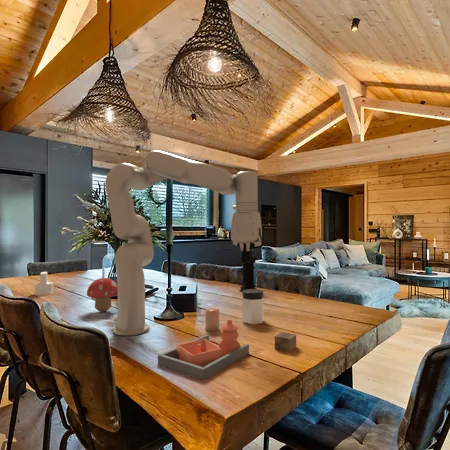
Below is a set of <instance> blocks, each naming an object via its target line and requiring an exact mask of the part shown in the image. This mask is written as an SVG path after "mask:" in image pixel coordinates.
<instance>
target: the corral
mask: <svg viewBox="0 0 450 450" xmlns="http://www.w3.org/2000/svg"><path fill="white" fill-rule="evenodd" d="M202 339H206V340H208V341H210V334H204V335H203V336H200V337H198V338H195V339H193V340H192V339H191V341H189V342H193V341H197V340H202ZM240 346H241V347H239V348H237V349H236V350H234V351H232V352H230V353H228V354H226V355H225V356H222V357H221V358H219V359H217V360H215V361H213V362H212V363H210V364H208V365H206V366H204V367H201V366H197V365H194V364H191V363H188V362H185V361H182V360H178V359H177V346H176V347H174V348H171V349H169V350H166V351H164V352H162V353H159V354H157V365H159V366H161V367H165V368H168V369H171V370H173V371H176V372H180V373H181V374H186V375H188V376H191V377H194V378H197V379H199V380H202V381H203V380H206V379H208V378H209V377H211V376H213V375H214V374H216V373H218V372H220V371H221V370H223V369H225V368H227V367H228V366H230V365H231V364H233V363H235V362H236V361H238V360H240V359H242V358H243V357H245V356H247V355H249V354H250V344H249V343H245V344H243V345H240Z"/></svg>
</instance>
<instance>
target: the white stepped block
mask: <svg viewBox="0 0 450 450" xmlns="http://www.w3.org/2000/svg"><path fill="white" fill-rule="evenodd" d="M39 279H40V280H39V282H36V283H34V295H35V296H49V295H53V294H54V288H53V287H54V282H52V281H48V271H41V272H40V273H39Z"/></svg>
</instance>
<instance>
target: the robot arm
mask: <svg viewBox="0 0 450 450" xmlns="http://www.w3.org/2000/svg"><path fill="white" fill-rule="evenodd" d="M166 179H170V180H173V181H174V182H180V183H183V184H186V185H187V184H191V185H194V186H195V185H196V186H199V187H202V188H205V189H209V190H212V191H214V192H216V193H218V194H220V195H223V196H224V195H225V196H228V195H235V203H234V204H235V205H233V206H232V209H233V210H234V212H233V213H232V214H233V215H232V219H231V226H230V239H231V241H232V245H234V246H237V247H238V248H239V250H240V251H241V257H242V262H243V263H251V260H252V257H253V256H252V255H253V251H254V249H255V248H256V247H259V246H261V245H262V238H263V229H262V228H263V226H262V219H261V214H260V212H259V211H258V210H259V209H258V207H259V206H258V205H259V203H258V191H259V189H258V186H259V185H258V174H257V173H256V172H254V171H248V170H247V171H239V172H237V173H236V174H232V173H231V172H229V171H227V170H225V169H223V168H221V167H217V166H213V165H211V164H208V163H204V162H200V161H195V160H194V159H193V160H192V159H188V158H185V157H182V156H179V155H176V154H172V153H169V152H165V151H162V150H158V149H154V150H151V151H149V152H147V154H146V155H145V156H144V165H143V166H141V167H139V166H137V165H134V164H131V163H127V162H122V163H117V164H116V165H114V166H113V167H112V168H111V169H110V171H108V173H107V176H106V178H105V182H104V183H105V193H106V197H107V201H108V207H109V213H110V217H111V224H112V229H113V232H114V234H115V236H116V237H117V239H120V240H127V241H128V242H127V243H124V244H122V245H121V246H119V247H118V248H117V250H116V252H115V255H114V263H115V268H116V269H115V270H116V278H117V282H116V284H117V288H118V295H117V316H116V317H114V318H113V320H112V321H113V322H114V323H116V326H114V327H113V328H112V331H113V332H112V333H113V334H115V335H117V336H124V337H125V336H135V335H136V336H137V335H141V334H144V333H147V332H148V331H150V325H149V324H148V323H146V302H145V301H146V286H145V283H146V280H145V273H144V268H143V267H145V266H148V265H149V264H150V263H152V261H153V260H154V255H155V253H154V244H153V240H152V234H151V229H150V225H149V223H148V221H147V219H146V218H145V217H144V216H143V215H139V214H137V213H136V211H135V206H134V204H135V203H134V199H133V197H132V195H131V193H130V189H132V190H136V191H142V190H146V189H148V188H151V187H152V186H155V185H156V184H158V183H160V182H162V181H164V180H166ZM242 262H241V263H242ZM243 263H242V264H243Z"/></svg>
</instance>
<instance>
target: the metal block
mask: <svg viewBox="0 0 450 450" xmlns="http://www.w3.org/2000/svg"><path fill="white" fill-rule="evenodd" d="M296 348H297V334H296V333H290V332H285V331H280V332H279V333H277V334H276V335H274V350H277V351H278V350H279V351H284V352H288V353H291V352H293V351H294V349H296Z"/></svg>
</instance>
